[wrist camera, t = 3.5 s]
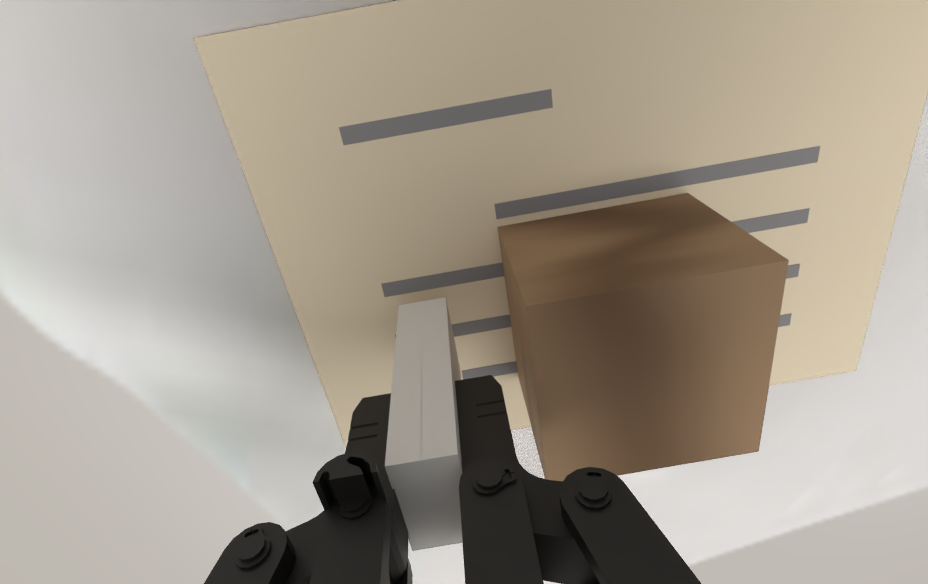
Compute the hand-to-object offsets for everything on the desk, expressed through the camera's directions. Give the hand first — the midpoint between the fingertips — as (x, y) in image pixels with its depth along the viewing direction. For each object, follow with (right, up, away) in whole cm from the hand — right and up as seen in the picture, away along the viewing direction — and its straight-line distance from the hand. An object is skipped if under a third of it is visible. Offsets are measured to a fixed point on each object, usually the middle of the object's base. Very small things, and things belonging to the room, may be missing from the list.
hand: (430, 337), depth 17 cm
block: (+6, +1, +1) cm, 6 cm away
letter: (+5, +3, 0) cm, 6 cm away
